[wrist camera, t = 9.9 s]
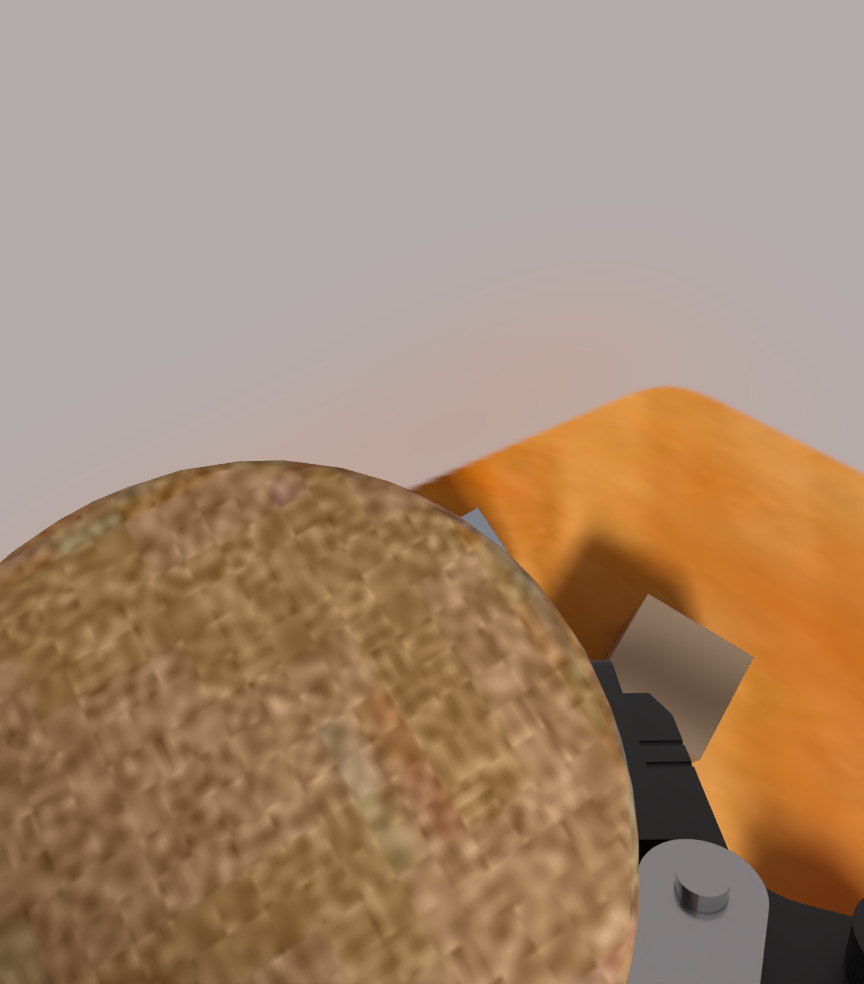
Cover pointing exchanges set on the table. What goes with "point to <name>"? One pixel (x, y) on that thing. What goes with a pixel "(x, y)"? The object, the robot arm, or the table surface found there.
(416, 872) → the bottle
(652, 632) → the walnut block
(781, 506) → the table surface
